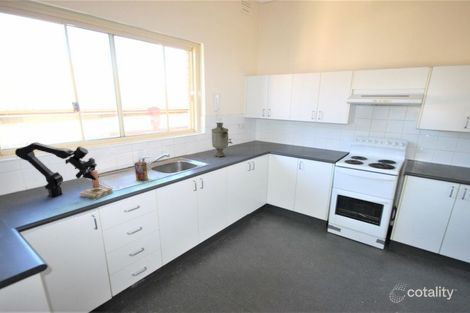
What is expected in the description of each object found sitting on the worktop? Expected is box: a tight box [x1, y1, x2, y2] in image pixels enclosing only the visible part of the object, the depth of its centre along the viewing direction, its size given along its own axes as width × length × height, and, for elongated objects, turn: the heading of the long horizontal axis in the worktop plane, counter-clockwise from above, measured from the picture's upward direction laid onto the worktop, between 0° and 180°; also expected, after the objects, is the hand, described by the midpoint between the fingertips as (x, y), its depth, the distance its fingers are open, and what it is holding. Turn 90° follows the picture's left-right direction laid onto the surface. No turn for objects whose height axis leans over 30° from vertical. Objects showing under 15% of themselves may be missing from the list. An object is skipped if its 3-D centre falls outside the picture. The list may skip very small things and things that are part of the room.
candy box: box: [134, 160, 149, 181], centre depth 193 cm, size 9×4×15 cm, turn 104°
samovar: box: [211, 122, 233, 159], centre depth 274 cm, size 30×26×40 cm
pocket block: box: [79, 185, 114, 200], centre depth 164 cm, size 14×14×3 cm
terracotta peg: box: [91, 169, 100, 188], centre depth 161 cm, size 4×4×12 cm
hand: (97, 178), depth 161 cm, fingers closed on terracotta peg, 4 cm apart
